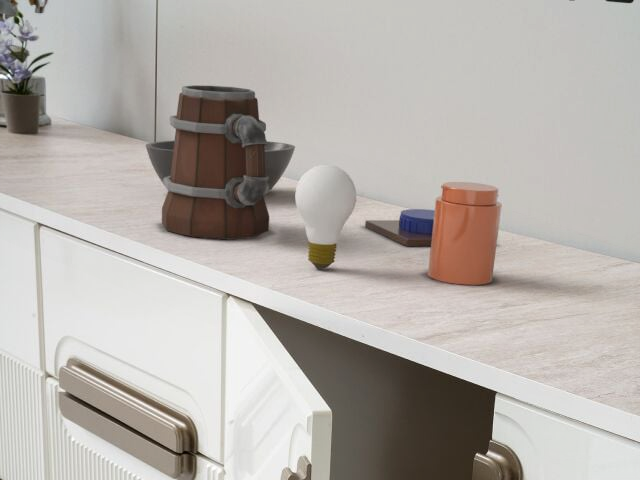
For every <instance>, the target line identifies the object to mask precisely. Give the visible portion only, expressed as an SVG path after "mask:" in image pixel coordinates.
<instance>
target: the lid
mask: <svg viewBox="0 0 640 480" xmlns="http://www.w3.org/2000/svg"><path fill="white" fill-rule="evenodd" d="M434 212H435V209H423V208H412V209H411V208H410V209H404V210H401V211H400V215H399V219H398V220H399V227H400V228H401V229H404V230H406V231H410V232H415V233H422V234H432V230H433V221H434Z"/></svg>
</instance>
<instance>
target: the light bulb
mask: <svg viewBox="0 0 640 480" xmlns="http://www.w3.org/2000/svg"><path fill="white" fill-rule="evenodd" d="M294 197H295V206H296V208H297V210H298V213H299V215H300V217H301V219H302V221H303V223H304V227H305V228H304V229H305V234H306V237H307V240H308V242H307V243H308V248H307V249H308V252H307V254H308V255H307V256H308V258H307V259H308V262H310V263H311V264H312V265H313V266H314V268H316V269H317V270H326V269H328V267H330V266H331V265H332V264H333V263H335V259H336V251H337V250H336V248H337V246H338V245H337V243H338V241H339V240H340V237H341V232H342V230H343V228H344V226H345V225H346V222H347V221H348V219H349V218H350V217H351V216H352V214H353V212H354V210H355V207H356V203H357V189H356V186H355V183H354V182H353V179H352V178H351V176H350V175H349V174H348V172H346V171H345V170H344V169H342V168H340V167H338V166H335V165H333V164H320V165H316V166H314V167H311V168H309V170H307V171H306V172H304V173H303V175H302V176H301V178H300V179H299V181H298V182H297V185H296V188H295V195H294Z"/></svg>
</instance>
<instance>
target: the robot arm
mask: <svg viewBox="0 0 640 480" xmlns="http://www.w3.org/2000/svg"><path fill="white" fill-rule="evenodd" d="M570 1H574V2H575V0H570ZM605 1H606V2H609V3H619V4H620V3H622V4H632V3H634V2H635V0H605Z"/></svg>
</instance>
